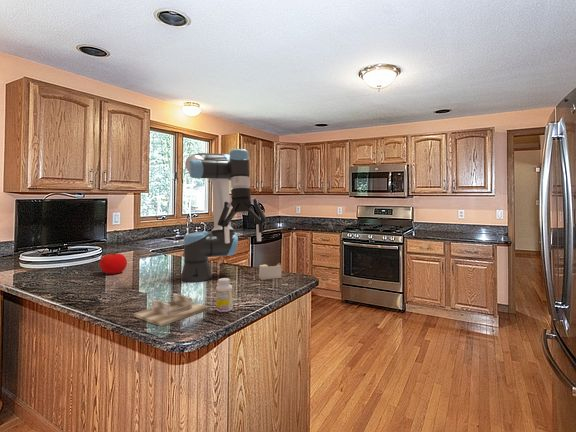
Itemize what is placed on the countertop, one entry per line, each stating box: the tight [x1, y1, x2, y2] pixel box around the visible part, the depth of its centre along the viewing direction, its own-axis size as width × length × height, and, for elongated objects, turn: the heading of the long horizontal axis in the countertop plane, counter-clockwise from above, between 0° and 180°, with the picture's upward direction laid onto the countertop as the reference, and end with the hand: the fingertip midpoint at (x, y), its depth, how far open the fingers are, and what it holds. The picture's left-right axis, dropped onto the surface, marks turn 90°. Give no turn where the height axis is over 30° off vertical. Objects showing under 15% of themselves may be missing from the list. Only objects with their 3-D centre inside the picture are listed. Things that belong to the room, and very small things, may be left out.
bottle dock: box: [132, 293, 210, 327], centre depth 121 cm, size 16×20×5 cm
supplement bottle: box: [215, 277, 234, 313], centre depth 124 cm, size 6×6×11 cm
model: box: [258, 262, 282, 281], centre depth 171 cm, size 3×11×8 cm, turn 114°
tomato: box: [99, 252, 128, 275], centre depth 183 cm, size 12×13×11 cm
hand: (243, 242), depth 132 cm, fingers open, 13 cm apart
